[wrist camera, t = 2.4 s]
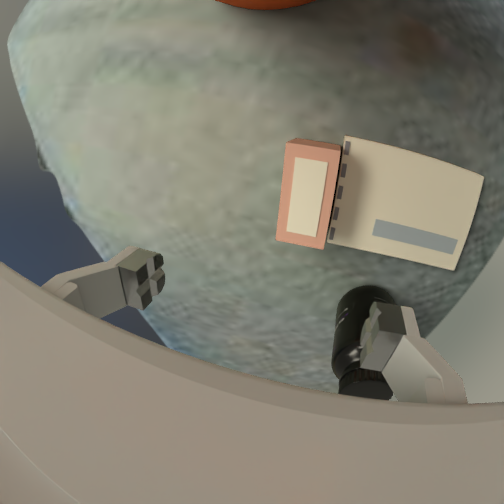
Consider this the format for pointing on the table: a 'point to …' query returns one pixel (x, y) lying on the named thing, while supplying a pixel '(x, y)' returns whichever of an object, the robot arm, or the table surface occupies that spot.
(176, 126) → the table surface
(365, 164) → the cream flat block
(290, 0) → the flowerpot
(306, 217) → the pink box
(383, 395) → the supplement bottle
